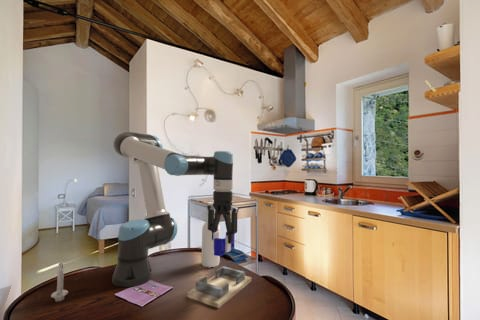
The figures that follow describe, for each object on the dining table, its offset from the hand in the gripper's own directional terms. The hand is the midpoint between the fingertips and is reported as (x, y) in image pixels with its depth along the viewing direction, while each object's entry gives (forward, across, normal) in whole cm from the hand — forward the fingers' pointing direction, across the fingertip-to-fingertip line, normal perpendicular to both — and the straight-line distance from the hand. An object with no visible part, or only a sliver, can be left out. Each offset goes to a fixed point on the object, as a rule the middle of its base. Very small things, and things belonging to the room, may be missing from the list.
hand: (221, 250), depth 98 cm
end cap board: (+15, 0, 0) cm, 15 cm away
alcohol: (+15, -18, +17) cm, 29 cm away
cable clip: (+1, 0, +1) cm, 1 cm away
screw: (+15, -43, -37) cm, 58 cm away
